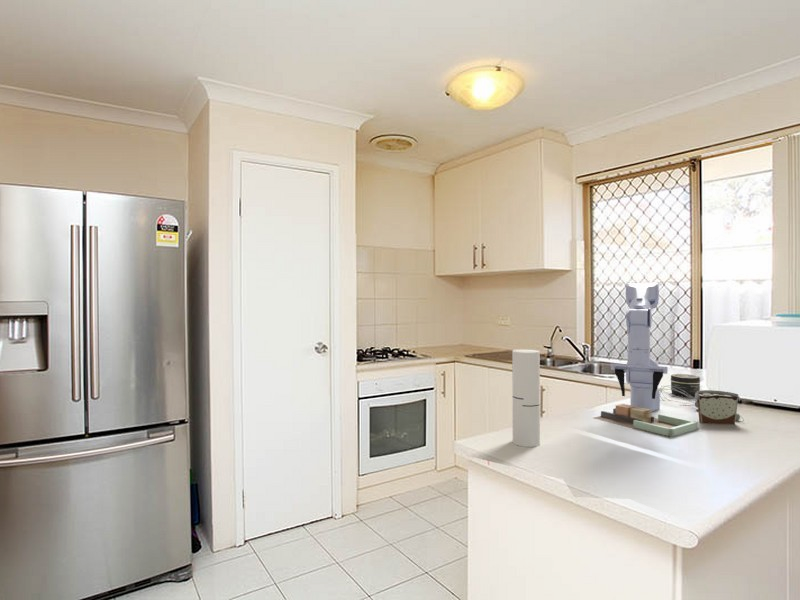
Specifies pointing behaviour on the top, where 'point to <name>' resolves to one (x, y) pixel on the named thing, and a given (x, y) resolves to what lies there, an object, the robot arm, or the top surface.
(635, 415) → the birch block
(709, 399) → the food container
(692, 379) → the jar
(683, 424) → the tray
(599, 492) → the top surface
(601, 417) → the groove board
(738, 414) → the kitchen whisk
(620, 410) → the terracotta block
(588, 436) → the top surface
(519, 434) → the cylindrical container
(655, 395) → the robot arm
